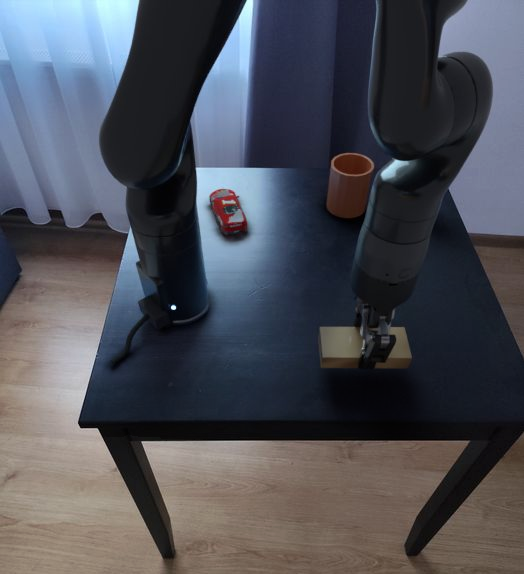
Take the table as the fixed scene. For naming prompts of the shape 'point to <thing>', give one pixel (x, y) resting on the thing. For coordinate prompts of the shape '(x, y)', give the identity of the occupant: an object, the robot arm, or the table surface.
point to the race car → (228, 211)
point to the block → (358, 348)
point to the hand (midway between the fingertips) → (362, 349)
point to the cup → (349, 185)
